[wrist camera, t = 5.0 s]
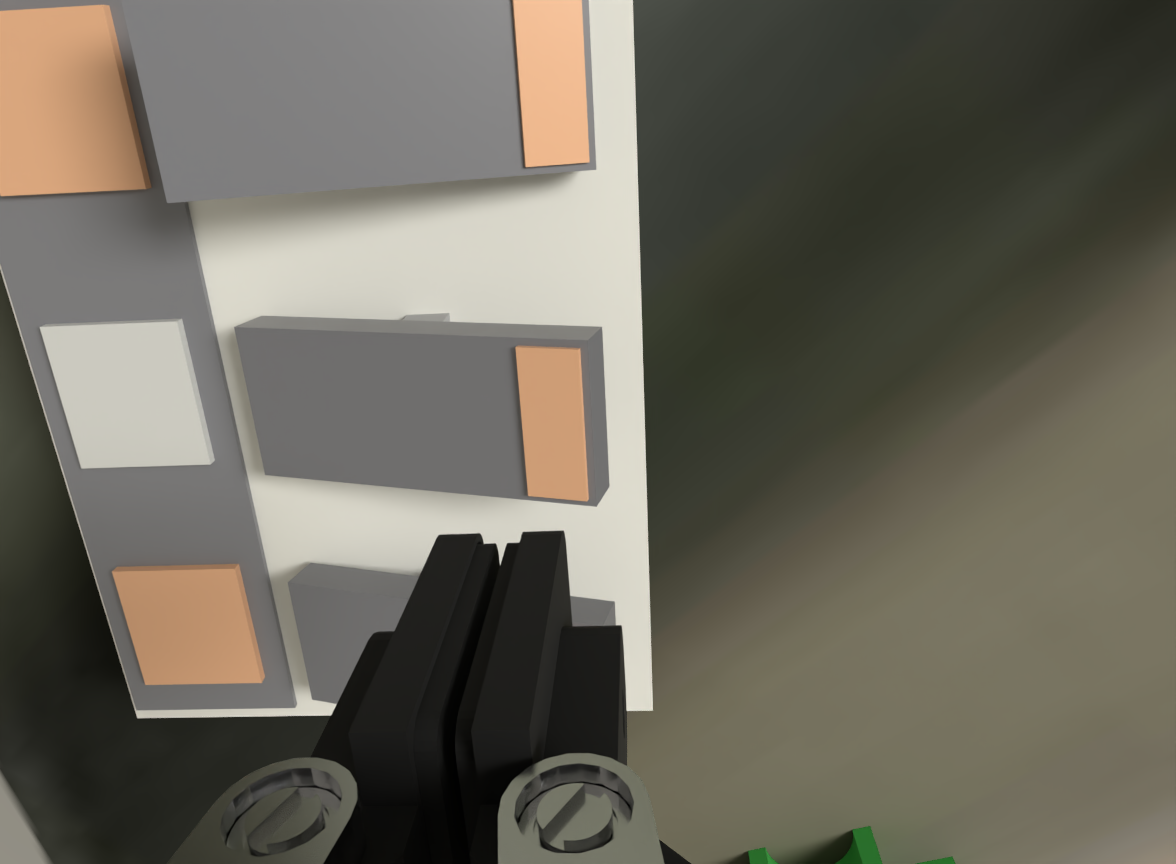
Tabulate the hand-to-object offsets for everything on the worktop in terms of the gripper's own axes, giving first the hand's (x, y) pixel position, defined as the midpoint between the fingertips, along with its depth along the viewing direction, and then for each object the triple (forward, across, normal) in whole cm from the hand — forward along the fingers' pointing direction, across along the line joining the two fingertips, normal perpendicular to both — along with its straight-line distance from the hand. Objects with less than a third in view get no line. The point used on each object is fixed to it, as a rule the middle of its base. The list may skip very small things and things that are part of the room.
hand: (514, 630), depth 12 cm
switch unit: (+18, +7, 0) cm, 19 cm away
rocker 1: (+12, +4, -7) cm, 14 cm away
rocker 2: (+12, +4, +1) cm, 13 cm away
